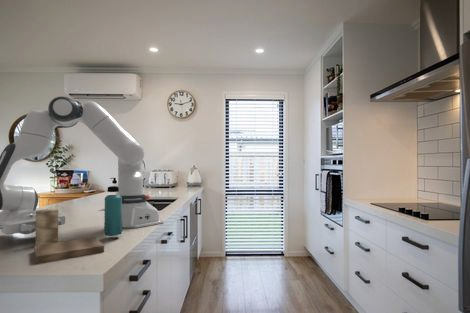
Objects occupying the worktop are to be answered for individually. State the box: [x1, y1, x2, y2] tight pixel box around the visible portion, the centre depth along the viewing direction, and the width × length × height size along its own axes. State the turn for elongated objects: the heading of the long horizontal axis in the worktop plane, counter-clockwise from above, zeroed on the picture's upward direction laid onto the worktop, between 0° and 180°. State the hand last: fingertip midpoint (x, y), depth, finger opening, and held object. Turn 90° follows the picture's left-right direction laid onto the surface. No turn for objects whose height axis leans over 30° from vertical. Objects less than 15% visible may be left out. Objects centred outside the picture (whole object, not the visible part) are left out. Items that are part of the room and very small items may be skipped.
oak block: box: [35, 208, 59, 246], centre depth 102 cm, size 5×5×12 cm
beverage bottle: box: [103, 185, 123, 237], centre depth 110 cm, size 6×7×20 cm
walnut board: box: [33, 236, 105, 265], centre depth 92 cm, size 18×14×2 cm
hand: (47, 225), depth 102 cm, fingers open, 8 cm apart
